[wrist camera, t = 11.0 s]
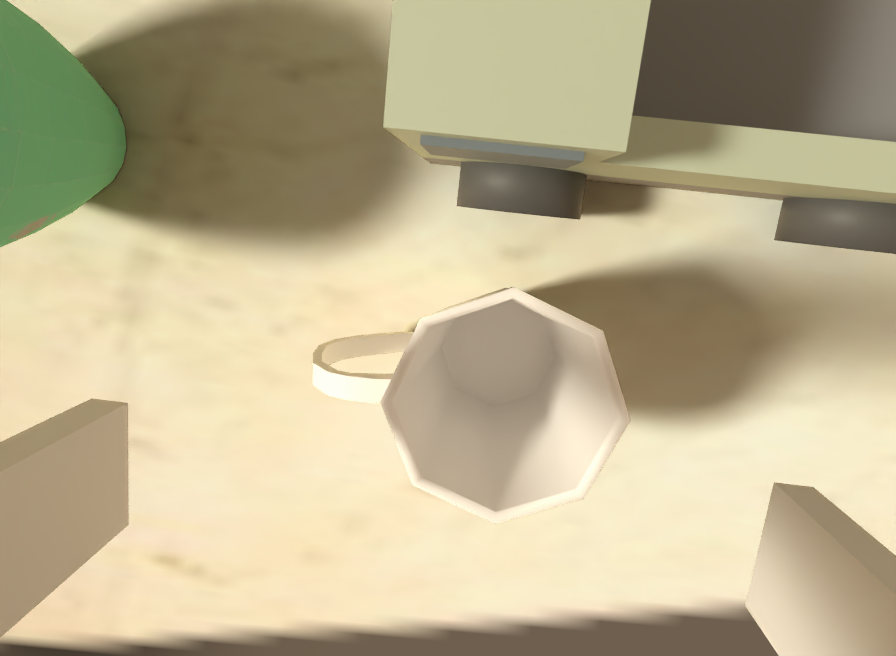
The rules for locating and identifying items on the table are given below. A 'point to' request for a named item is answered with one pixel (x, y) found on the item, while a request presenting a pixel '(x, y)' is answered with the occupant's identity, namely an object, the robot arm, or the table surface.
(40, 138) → the mug
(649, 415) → the table surface
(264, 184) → the table surface
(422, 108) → the pickup truck
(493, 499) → the cup
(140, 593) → the table surface
